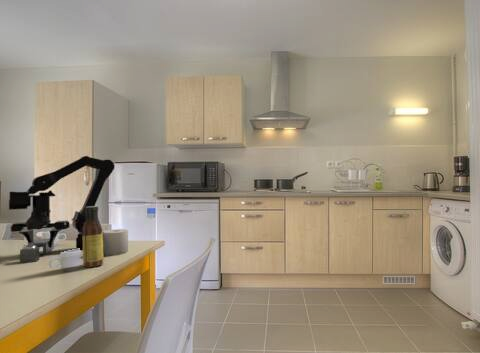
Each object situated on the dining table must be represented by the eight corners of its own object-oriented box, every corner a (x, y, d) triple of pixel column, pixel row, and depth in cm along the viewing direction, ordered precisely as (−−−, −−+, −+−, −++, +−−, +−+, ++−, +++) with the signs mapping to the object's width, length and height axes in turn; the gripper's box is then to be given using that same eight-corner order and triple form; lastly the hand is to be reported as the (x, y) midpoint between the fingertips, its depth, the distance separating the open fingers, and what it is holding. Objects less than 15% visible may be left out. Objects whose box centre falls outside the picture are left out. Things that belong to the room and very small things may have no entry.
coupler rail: (49, 252, 123) (49, 239, 123) (35, 262, 109) (35, 247, 109) (35, 253, 122) (35, 240, 122) (19, 263, 108) (19, 248, 108)
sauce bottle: (107, 263, 106) (107, 206, 106) (93, 268, 100) (93, 207, 100) (92, 262, 108) (92, 205, 108) (77, 267, 102) (77, 207, 103)
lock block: (53, 248, 126) (53, 238, 126) (46, 253, 117) (46, 242, 117) (36, 249, 124) (36, 239, 124) (27, 254, 116) (27, 243, 116)
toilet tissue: (94, 258, 114) (94, 234, 114) (108, 250, 127) (108, 229, 127) (119, 257, 114) (119, 234, 114) (130, 249, 128) (130, 229, 128)
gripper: (3, 210, 111) (3, 254, 111) (61, 209, 116) (61, 250, 116) (17, 208, 122) (17, 248, 121) (69, 206, 126) (69, 244, 126)
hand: (41, 248), depth 121 cm, fingers closed on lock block, 6 cm apart
